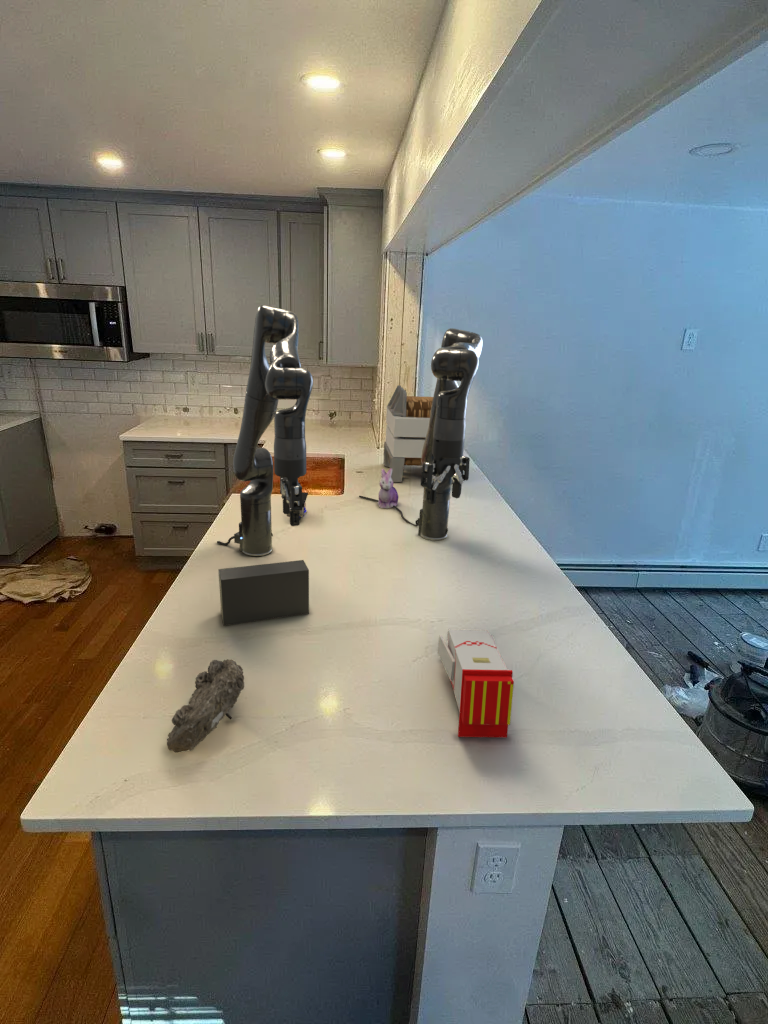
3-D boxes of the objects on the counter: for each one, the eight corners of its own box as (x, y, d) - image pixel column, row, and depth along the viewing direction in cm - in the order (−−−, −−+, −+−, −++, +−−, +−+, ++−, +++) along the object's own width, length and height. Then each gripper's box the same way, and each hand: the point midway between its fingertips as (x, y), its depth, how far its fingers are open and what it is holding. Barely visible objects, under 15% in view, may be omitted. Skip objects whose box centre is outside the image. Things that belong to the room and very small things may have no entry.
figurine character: (304, 526, 206) (308, 508, 220) (304, 507, 203) (308, 490, 216) (286, 525, 206) (291, 507, 219) (285, 507, 203) (290, 489, 216)
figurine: (383, 510, 222) (384, 473, 217) (371, 502, 230) (372, 466, 225) (404, 507, 226) (406, 471, 221) (391, 499, 234) (393, 464, 229)
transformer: (382, 463, 289) (386, 382, 275) (445, 464, 293) (451, 384, 279) (390, 482, 257) (394, 392, 243) (460, 483, 261) (468, 394, 247)
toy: (488, 613, 130) (523, 677, 101) (484, 667, 133) (517, 744, 104) (435, 612, 130) (455, 676, 101) (432, 666, 133) (451, 743, 103)
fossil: (192, 660, 117) (244, 628, 112) (224, 691, 120) (276, 661, 115) (142, 746, 98) (202, 712, 93) (182, 779, 101) (242, 748, 96)
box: (223, 625, 138) (220, 580, 134) (221, 613, 144) (218, 569, 140) (308, 613, 146) (308, 569, 142) (303, 602, 151) (303, 559, 147)
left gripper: (313, 461, 128) (313, 528, 134) (299, 447, 141) (299, 508, 146) (280, 463, 126) (281, 531, 131) (268, 448, 138) (270, 510, 144)
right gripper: (458, 430, 142) (452, 491, 147) (416, 436, 133) (412, 501, 139) (480, 435, 136) (474, 499, 142) (438, 442, 128) (433, 510, 133)
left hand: (291, 519), depth 139 cm, fingers open, 8 cm apart
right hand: (443, 500), depth 140 cm, fingers open, 8 cm apart
